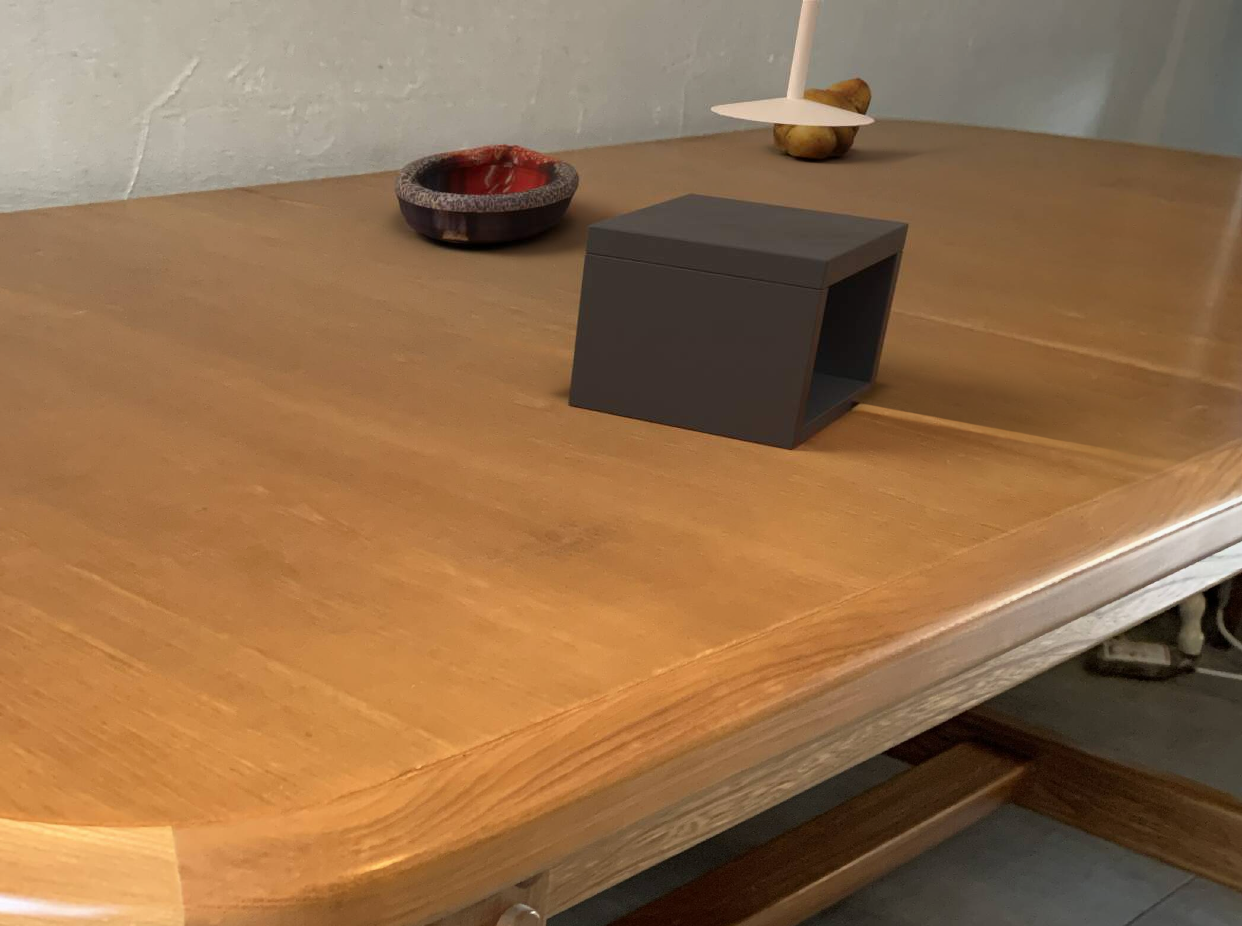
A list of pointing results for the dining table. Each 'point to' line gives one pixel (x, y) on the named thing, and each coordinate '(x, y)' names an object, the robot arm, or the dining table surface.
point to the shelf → (734, 316)
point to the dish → (485, 194)
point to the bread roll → (825, 138)
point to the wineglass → (796, 89)
